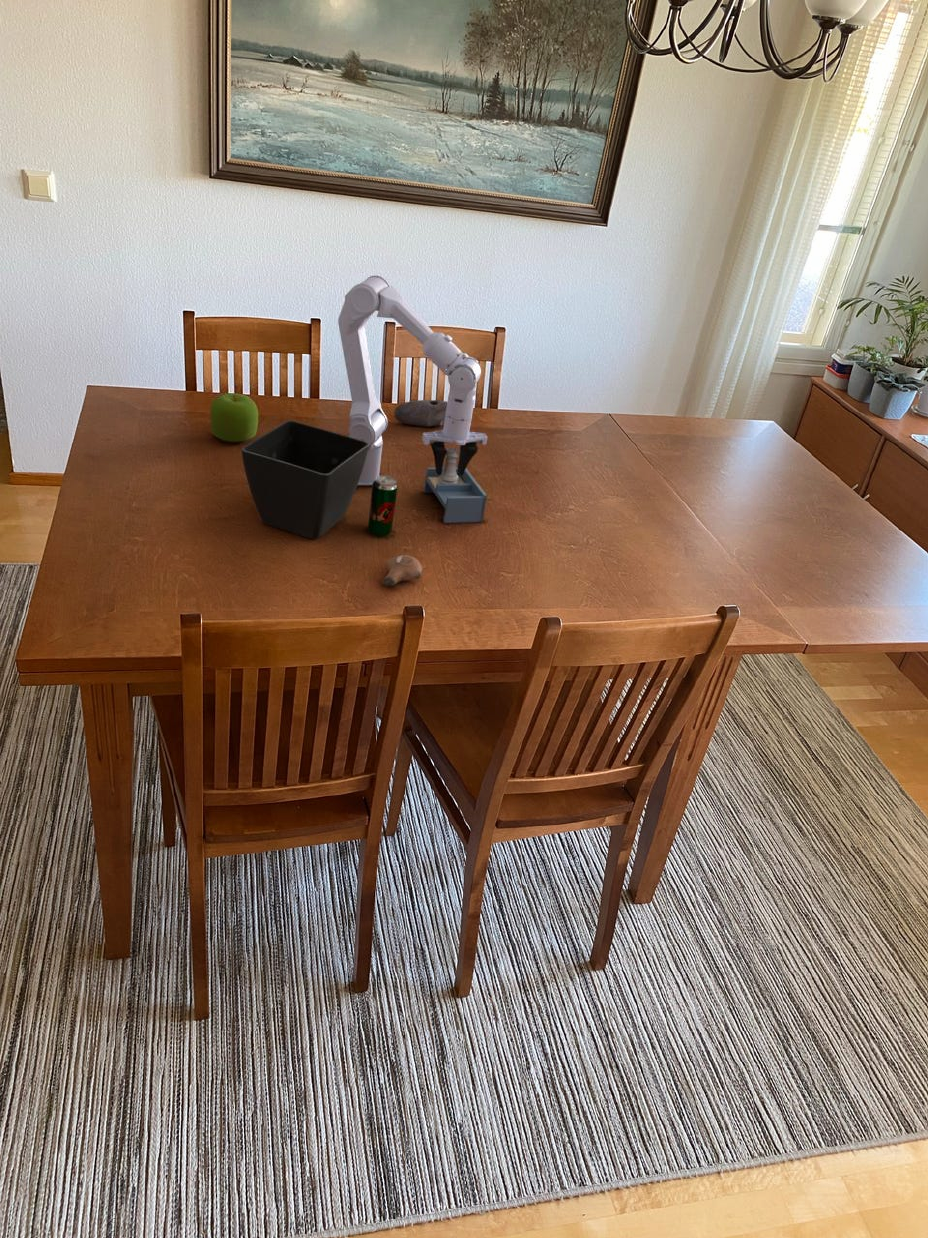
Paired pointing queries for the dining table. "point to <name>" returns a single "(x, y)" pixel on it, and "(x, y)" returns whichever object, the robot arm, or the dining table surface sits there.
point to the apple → (233, 417)
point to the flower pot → (303, 476)
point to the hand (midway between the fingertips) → (449, 472)
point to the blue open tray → (458, 497)
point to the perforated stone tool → (422, 413)
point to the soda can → (382, 506)
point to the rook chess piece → (450, 467)
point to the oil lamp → (402, 570)
